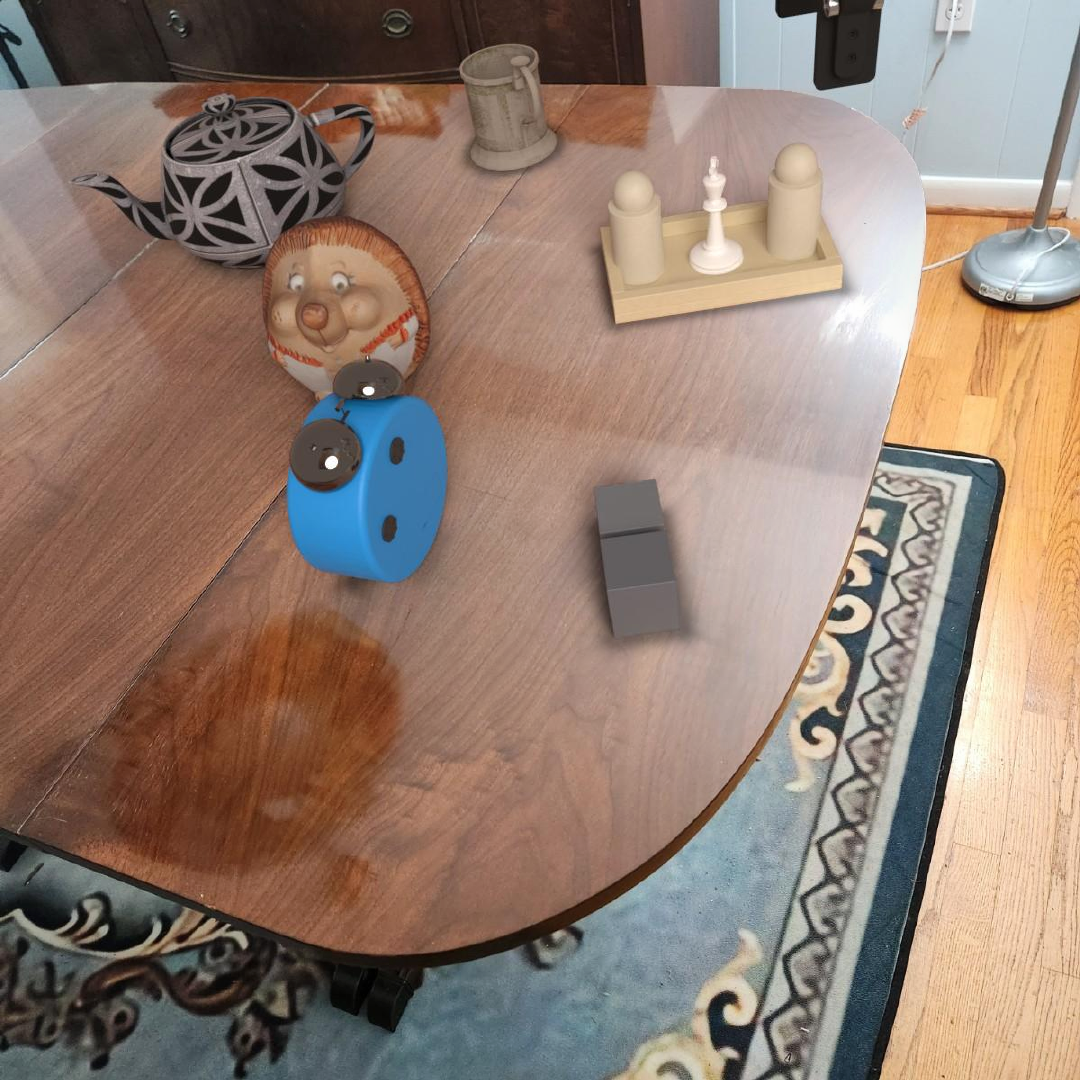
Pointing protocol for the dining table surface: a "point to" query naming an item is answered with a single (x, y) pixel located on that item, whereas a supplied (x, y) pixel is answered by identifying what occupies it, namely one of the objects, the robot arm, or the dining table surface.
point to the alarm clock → (367, 477)
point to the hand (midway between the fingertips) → (821, 46)
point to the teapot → (242, 177)
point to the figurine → (341, 301)
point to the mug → (506, 107)
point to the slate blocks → (636, 559)
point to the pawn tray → (759, 228)
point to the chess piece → (715, 231)
